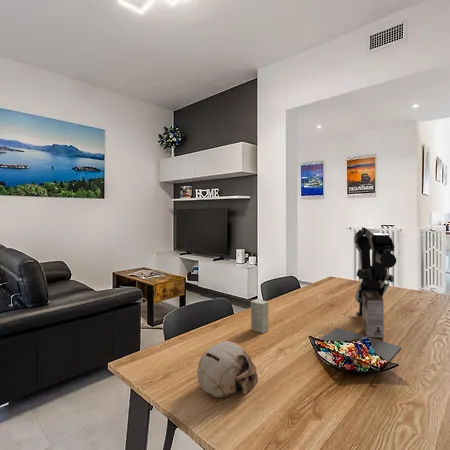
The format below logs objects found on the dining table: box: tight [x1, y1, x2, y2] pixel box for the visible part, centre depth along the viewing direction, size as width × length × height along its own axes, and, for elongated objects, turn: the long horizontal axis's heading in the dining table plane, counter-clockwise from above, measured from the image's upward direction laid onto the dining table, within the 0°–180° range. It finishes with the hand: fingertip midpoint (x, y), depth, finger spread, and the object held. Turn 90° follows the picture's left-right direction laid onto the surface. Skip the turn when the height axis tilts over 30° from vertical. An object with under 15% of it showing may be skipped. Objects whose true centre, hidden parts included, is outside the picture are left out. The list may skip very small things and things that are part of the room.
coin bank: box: [196, 340, 259, 399], centre depth 84 cm, size 16×17×13 cm
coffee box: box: [361, 290, 385, 338], centre depth 120 cm, size 9×6×16 cm
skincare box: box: [250, 298, 269, 334], centre depth 123 cm, size 6×4×12 cm
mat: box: [319, 327, 402, 363], centre depth 110 cm, size 20×24×1 cm
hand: (379, 301), depth 124 cm, fingers closed
